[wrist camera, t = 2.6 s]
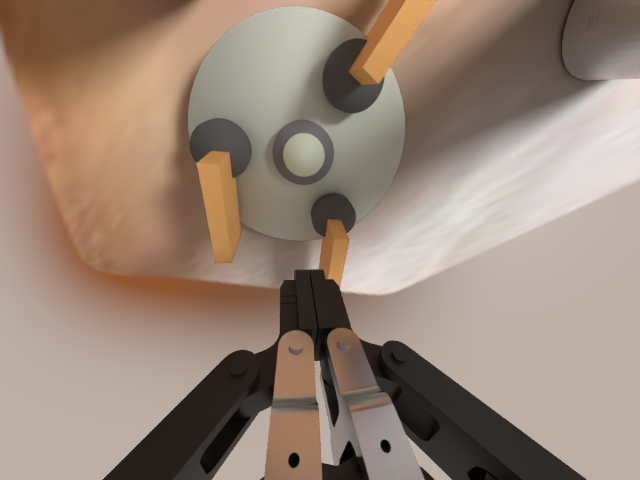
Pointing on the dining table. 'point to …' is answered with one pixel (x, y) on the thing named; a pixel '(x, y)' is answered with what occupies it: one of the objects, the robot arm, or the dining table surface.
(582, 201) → the dining table surface
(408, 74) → the dining table surface
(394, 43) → the knob
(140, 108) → the dining table surface
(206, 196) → the knob
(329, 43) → the tribrach plate
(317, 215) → the knob
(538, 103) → the dining table surface
